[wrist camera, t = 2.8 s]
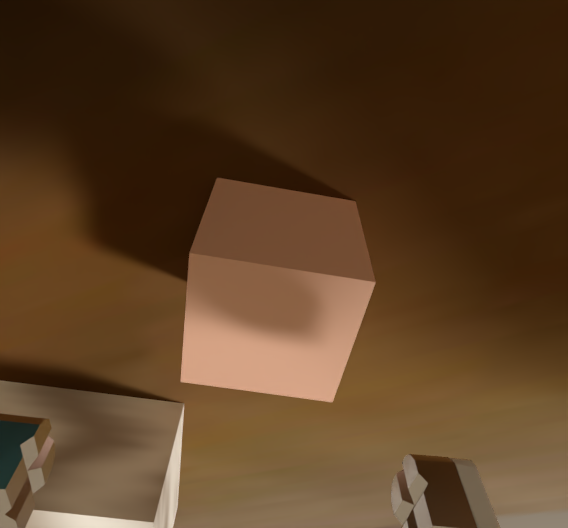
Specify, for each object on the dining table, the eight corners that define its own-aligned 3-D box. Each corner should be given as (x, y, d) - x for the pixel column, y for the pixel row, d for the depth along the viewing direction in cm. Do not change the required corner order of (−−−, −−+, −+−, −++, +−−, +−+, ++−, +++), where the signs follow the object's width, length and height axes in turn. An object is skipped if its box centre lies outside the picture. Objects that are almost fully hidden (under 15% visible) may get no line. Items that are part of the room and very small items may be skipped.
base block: (184, 400, 23) (153, 522, 18) (178, 502, 28) (153, 617, 23) (-19, 374, 22) (-111, 494, 17) (15, 484, 28) (-47, 599, 23)
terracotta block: (355, 200, 16) (375, 282, 12) (324, 305, 19) (332, 402, 15) (217, 176, 16) (189, 252, 12) (206, 287, 19) (180, 381, 14)
